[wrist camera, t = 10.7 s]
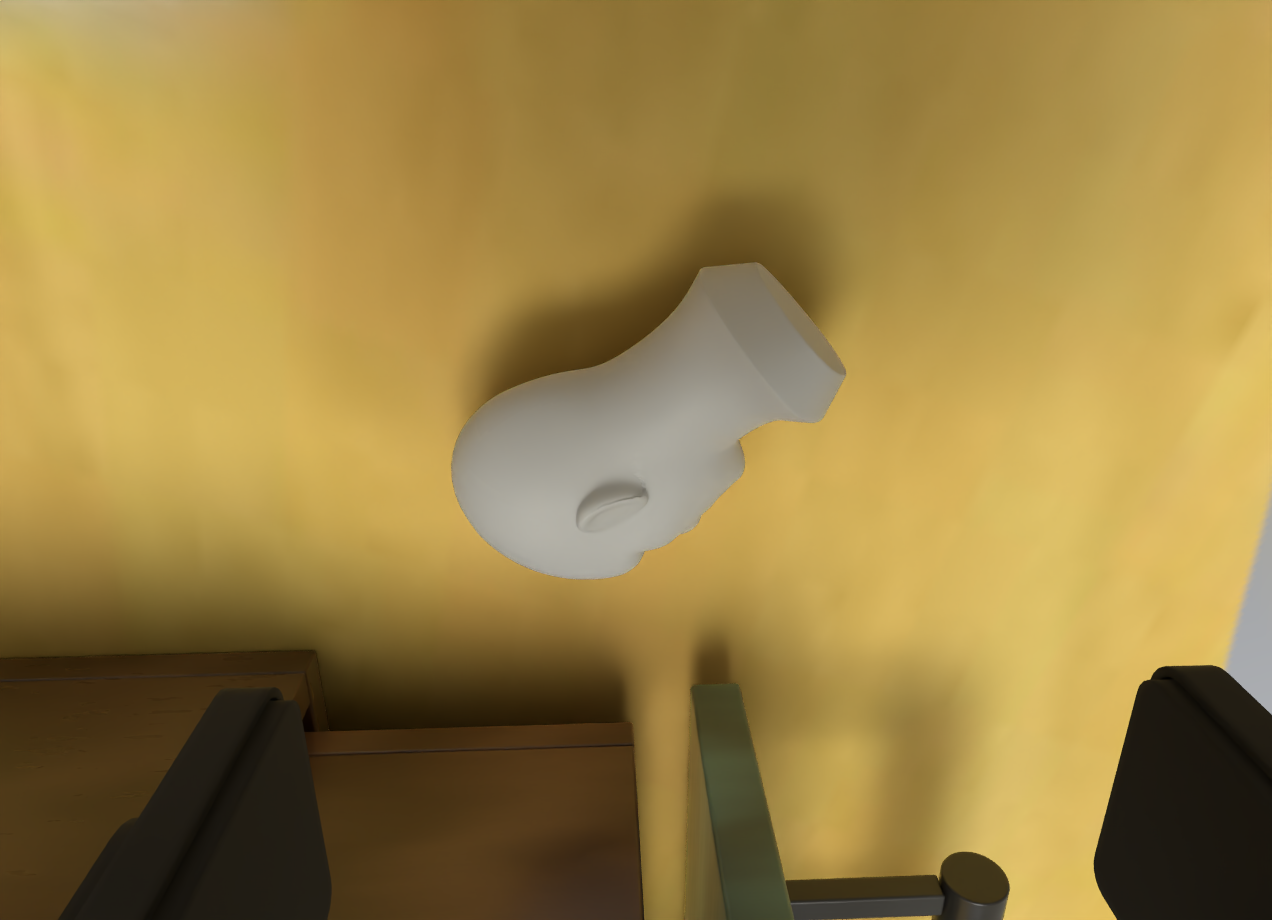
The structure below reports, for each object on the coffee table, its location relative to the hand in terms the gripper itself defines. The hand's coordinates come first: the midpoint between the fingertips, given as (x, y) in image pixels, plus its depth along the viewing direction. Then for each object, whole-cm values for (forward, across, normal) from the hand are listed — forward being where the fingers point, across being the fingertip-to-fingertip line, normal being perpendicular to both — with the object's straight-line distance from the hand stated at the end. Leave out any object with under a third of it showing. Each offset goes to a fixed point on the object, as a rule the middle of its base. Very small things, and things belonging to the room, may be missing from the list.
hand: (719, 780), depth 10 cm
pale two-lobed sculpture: (+11, 0, 0) cm, 11 cm away
